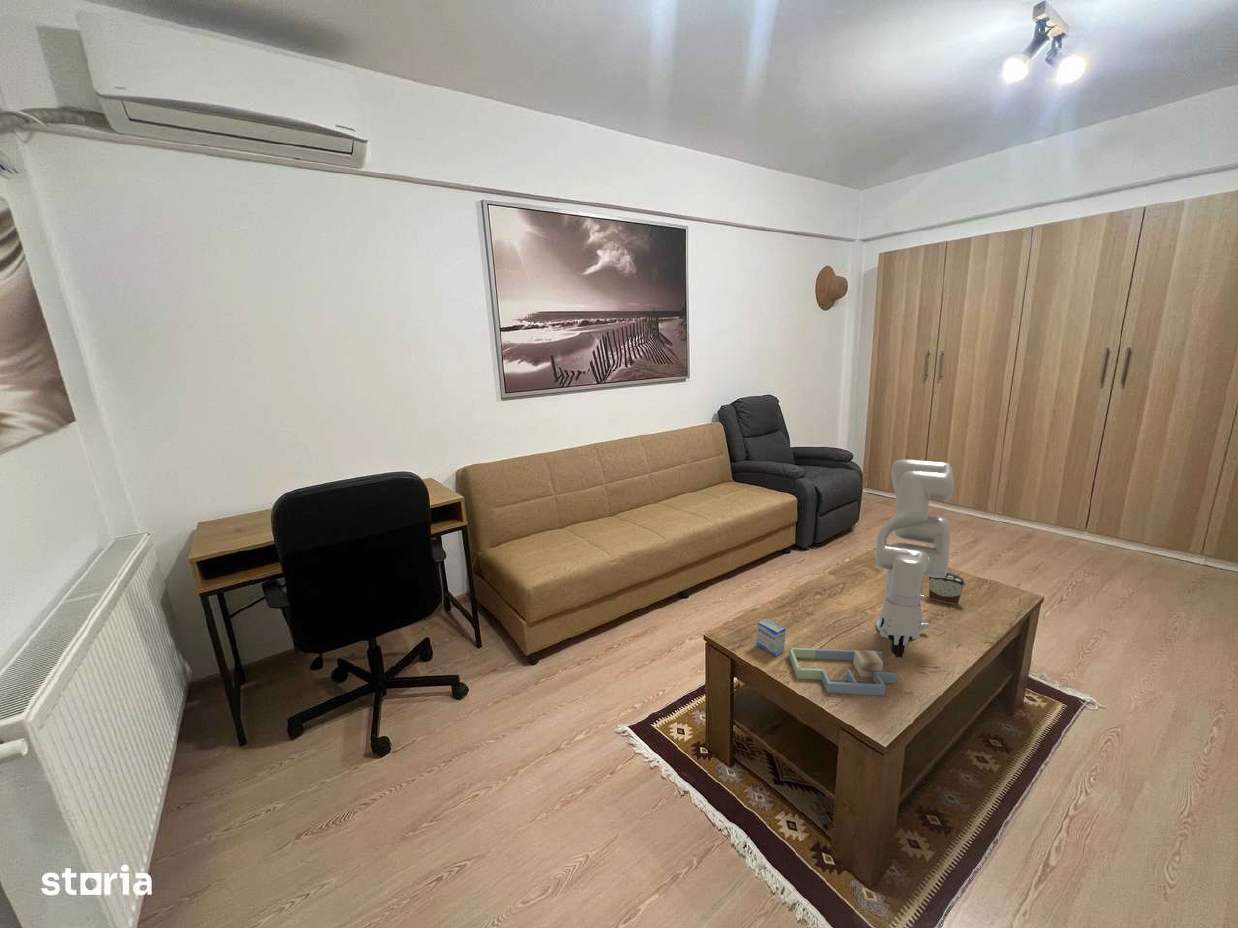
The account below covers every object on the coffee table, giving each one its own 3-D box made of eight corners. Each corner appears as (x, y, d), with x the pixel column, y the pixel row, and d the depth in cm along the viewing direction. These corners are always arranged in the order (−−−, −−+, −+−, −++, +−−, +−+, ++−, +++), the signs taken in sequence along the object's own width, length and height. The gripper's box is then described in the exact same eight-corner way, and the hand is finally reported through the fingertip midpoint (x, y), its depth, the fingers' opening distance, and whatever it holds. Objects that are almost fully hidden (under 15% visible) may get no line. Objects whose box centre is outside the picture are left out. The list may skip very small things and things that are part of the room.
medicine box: (755, 645, 163) (756, 622, 161) (764, 640, 165) (765, 617, 163) (776, 657, 156) (777, 632, 154) (784, 651, 159) (786, 627, 157)
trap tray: (880, 659, 154) (881, 651, 153) (904, 696, 138) (905, 687, 137) (788, 655, 157) (789, 647, 156) (801, 691, 141) (802, 682, 140)
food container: (962, 598, 189) (965, 574, 186) (962, 605, 184) (966, 581, 181) (924, 591, 195) (927, 567, 193) (924, 597, 190) (927, 573, 188)
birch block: (873, 664, 152) (874, 650, 151) (881, 677, 146) (883, 662, 145) (853, 664, 152) (854, 649, 151) (860, 676, 147) (861, 662, 145)
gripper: (924, 593, 145) (917, 649, 149) (871, 590, 147) (865, 646, 150) (938, 605, 138) (930, 664, 141) (882, 602, 139) (875, 660, 143)
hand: (897, 654), depth 146 cm, fingers closed
